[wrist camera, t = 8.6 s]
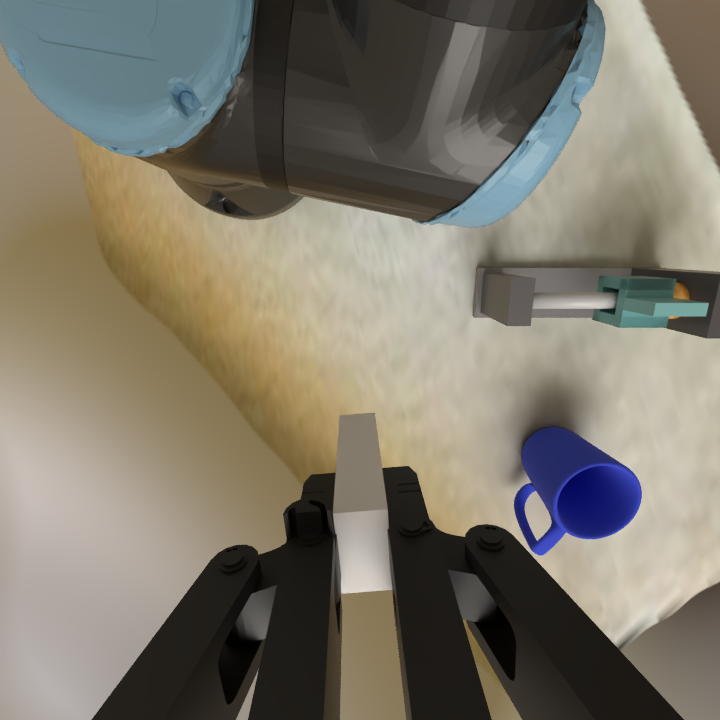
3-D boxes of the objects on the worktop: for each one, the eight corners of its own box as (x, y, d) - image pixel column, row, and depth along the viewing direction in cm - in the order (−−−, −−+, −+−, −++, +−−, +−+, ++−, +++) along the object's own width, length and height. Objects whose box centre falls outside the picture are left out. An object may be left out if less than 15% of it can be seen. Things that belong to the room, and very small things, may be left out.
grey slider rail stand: (472, 316, 43) (513, 338, 32) (476, 267, 41) (520, 273, 31) (651, 316, 43) (749, 338, 32) (660, 267, 42) (766, 274, 31)
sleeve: (592, 319, 38) (649, 336, 31) (599, 275, 37) (659, 282, 30) (634, 319, 38) (701, 336, 31) (642, 275, 37) (713, 282, 30)
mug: (476, 482, 48) (507, 541, 38) (544, 404, 45) (597, 446, 36) (528, 516, 49) (571, 581, 40) (597, 442, 47) (661, 492, 37)
